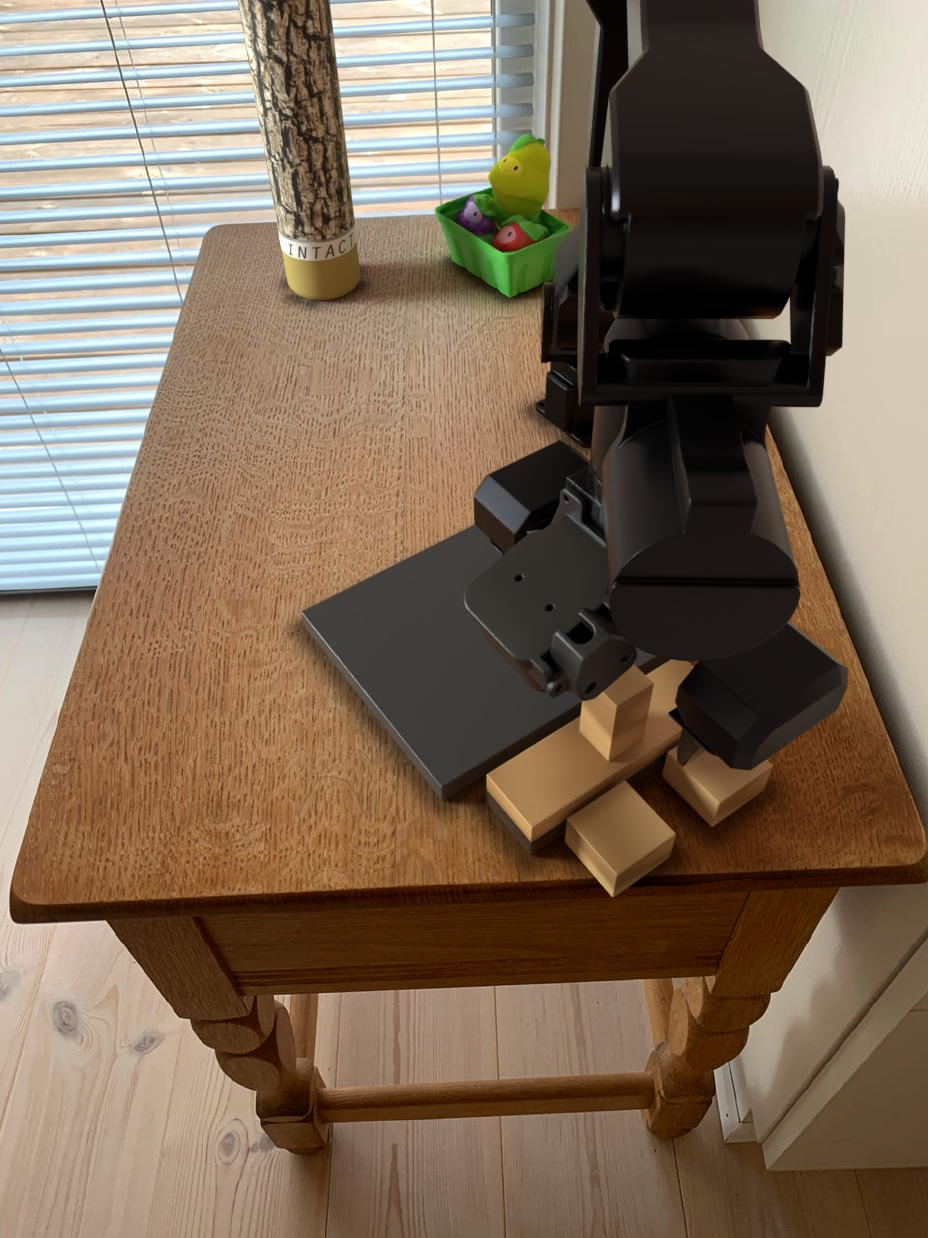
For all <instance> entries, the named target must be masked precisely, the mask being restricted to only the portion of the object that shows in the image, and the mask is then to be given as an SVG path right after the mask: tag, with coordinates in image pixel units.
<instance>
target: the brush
mask: <svg viewBox="0 0 928 1238" xmlns="http://www.w3.org/2000/svg"><path fill="white" fill-rule="evenodd" d="M694 666H695V665H693V664H692V663H691V662H690V661H679V660H673V659H671V660H670V661H668V662H666V663H665V664H663V665H662V666H660V667H658V668H657V669H655V670H654V671H652V672H650V673H649V674H647V675H645V674H644V673H643V672H641V671H640V670H639V669H638V668H637V667H636V666H635V665H634V664H633V665H632V667H631V668H630V669H629V670H627V671H626V672H625V673H624V674H623V675H622V676H621V677H619V678H618V679H617V680H616V681H615V682H614V683H612V684H611V685H610V686H609V687H608V688H607V689H606V690H604V691H603V692H602V693H601V694H600V695H599V696H597V697H596V698H595V699H592V700H588V701H582V708H581V716H580V717H578V718H577V719H575V720H573V721H572V722H570V723H569V724H567V725H565V726H564V727H562V728H561V729H559V730H557V731H556V732H554V733H552V734H551V735H549V736H548V737H546V738H544V739H543V740H541V741H540V742H538V743H536V744H535V745H533V746H531V747H530V748H528V749H527V750H525V751H523V752H522V753H520V754H519V755H517V756H515V757H514V758H512V759H510V760H509V761H507V762H506V763H504V764H502V765H501V766H499V767H498V768H496V769H494V770H493V771H491V772H489V773H488V774H486V805H488V807H489V808H490V809H491V810H492V811H493V813H494V814H495V815H496V816H497V818H498V819H499V820H500V821H501V822H502V824H503V825H504V826H505V827H506V828H507V829H508V831H509V832H510V833H511V835H513V837H514V838H515V839H516V841H517V842H518V843H519V844H520V845H521V847H522V848H523V849H524V850H525V851H526V853H527V854H528V855H529V856H530V857H531V856H533V855H535V854H536V853H538V852H539V851H540V850H542V849H543V848H545V847H547V846H548V845H550V844H551V843H553V842H554V841H555V840H557V839H558V838H560V837H561V836H563V835H564V834H566V824H567V818H569V817H570V816H572V815H573V814H575V813H576V812H578V811H579V810H581V809H582V808H584V807H585V806H587V805H588V804H590V803H591V802H593V801H594V800H596V799H597V798H599V797H600V796H602V795H603V794H605V793H606V792H608V791H609V790H611V789H612V788H614V787H615V786H617V785H618V784H620V783H621V782H623V781H626V782H627V783H628V784H629V785H630V786H631V787H632V788H634V787H636V786H637V785H639V784H640V783H641V782H643V781H645V780H646V779H647V778H649V777H650V776H651V775H653V774H654V773H656V772H658V771H660V770H661V769H662V768H664V765H665V761H666V756H667V752H668V751H670V750H671V749H673V748H674V747H676V746H677V745H678V743H679V739H680V735H681V731H682V727H680V726H679V725H678V724H677V723H676V722H675V721H674V720H673V719H672V718H671V717H670V716H669V715H668V713H669V712H670V711H671V710H673V709H675V708H676V707H677V705H676V703H675V699H676V695H677V690H678V686H679V685H680V684H681V682H682V681H683V680H684V679H685V678H686V676H687V675H688V674H689V673H690V671H691V670H692V669H693V668H694Z"/></svg>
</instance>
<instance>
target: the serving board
mask: <svg viewBox="0 0 928 1238" xmlns="http://www.w3.org/2000/svg"><path fill="white" fill-rule="evenodd" d="M501 556H502V555H501V554H500V553H499V552H498V551H497V550H496V549H495V548H494V547H493V546H492V545H491V543H490V538H489V537H487V536H486V535H485V534H484V533H483V532H482V531H481V530H480V529H479V528H478V527H477V526H476V525H475V524H472V525H470V526H468V527H466V528H464V529H462V530H460V531H459V532H457V533H454V534H453V535H450V536H449V537H446V538H445V539H443V540H441V541H438V542H436V543H434V544H432V545H431V546H429V547H426V548H425V549H423V550H420V551H419V552H417V553H414V554H413V555H411V556H409V557H407V558H405V559H403V560H400V561H399V562H396V563H394V564H393V565H391V566H389V567H387V568H384V569H383V570H381V571H378V572H377V573H375V574H373V575H371V576H369V577H366V578H365V579H363V580H361V581H359V582H357V583H355V584H353V585H351V586H349V587H347V588H345V589H343V590H341V591H339V592H337V593H335V594H333V595H331V596H329V597H327V598H326V599H323V600H321V601H319V602H317V603H315V604H313V605H312V606H309V607H308V608H307V607H306V608H305V609H303V610H301V612H300V613H301V614H300V615H301V618H302V622H303V627H304V628H305V630H306V631H307V632H308V633H309V634H310V636H311V637H312V639H313V640H314V641H315V642H316V643H317V645H318V646H319V647H320V648H321V649H322V651H323V652H324V654H325V655H326V656H327V657H328V659H329V660H330V661H331V662H332V664H333V665H334V666H335V668H336V669H337V670H338V672H339V673H340V674H341V675H342V677H344V679H345V680H346V681H347V683H348V684H349V686H351V688H352V689H353V690H354V691H355V693H356V694H357V696H359V698H360V699H361V700H362V702H363V703H364V704H365V705H366V707H367V708H368V709H369V710H370V712H371V713H372V715H374V717H375V718H376V719H377V720H378V721H379V723H380V725H382V727H383V728H384V729H385V731H386V732H387V733H388V734H389V736H390V737H391V739H393V741H394V742H395V744H396V745H397V746H398V747H399V748H400V750H401V751H402V753H404V755H405V757H407V759H408V760H409V762H411V763H412V765H413V766H414V767H415V769H416V770H417V771H418V772H419V774H420V775H421V776H422V777H423V779H424V780H425V781H426V783H427V784H428V786H430V787H431V789H432V790H433V791H434V792H435V794H436V795H437V796H438V798H439V799H440V800H441V801H442V802H444V801H446V800H447V799H449V798H451V797H453V796H454V795H456V794H457V793H459V792H461V791H462V790H464V789H465V788H467V787H468V786H470V785H472V784H473V783H475V782H477V781H478V780H480V779H481V778H483V777H485V776H487V774H488V773H490V772H492V771H493V770H495V769H496V768H498V767H500V766H501V765H503V764H504V763H506V762H508V761H509V760H511V759H512V758H514V757H516V756H517V755H519V754H520V753H522V752H524V751H525V750H527V749H528V748H530V747H532V746H533V745H535V744H536V743H538V742H540V741H541V740H543V739H544V738H546V737H548V736H549V735H551V734H552V733H554V732H556V731H557V730H559V729H561V728H562V727H564V726H565V725H567V724H569V723H570V722H572V721H573V720H575V719H577V718H578V717H580V716H581V708H582V700H581V699H580V698H579V697H578V696H577V695H576V694H575V693H574V692H572V691H565V692H564V693H562V694H561V695H560V696H558V697H555V698H551V697H550V696H549V695H548V694H547V692H539V691H536V690H534V689H532V688H531V687H530V686H529V685H528V684H527V683H526V682H525V681H524V680H523V679H522V678H521V676H520V675H519V674H518V673H517V672H516V671H515V670H514V669H513V668H512V667H511V666H510V665H509V664H508V662H507V661H506V660H505V659H504V658H503V657H502V656H501V655H500V654H499V653H498V652H497V651H496V650H495V649H494V648H493V647H492V646H491V645H490V644H489V643H488V641H487V640H486V638H485V637H484V635H483V634H482V632H481V630H480V629H479V627H478V626H477V624H476V623H475V621H474V619H473V618H472V616H471V615H470V613H469V612H468V610H467V608H466V606H465V604H464V594H465V591H466V589H467V587H468V585H469V584H470V583H471V582H472V581H473V580H474V579H475V578H477V577H478V576H479V575H480V574H481V573H482V572H484V571H485V570H486V569H487V568H488V567H490V566H491V565H492V564H493V563H494V562H496V561H497V560H498V559H499V558H500V557H501ZM636 650H637V658H636V660H635V662H634V665H635V666H636V667H637V668H638V669H639V670H640V671H641V672H643V673H644V674H645V675H647V674H649V673H650V672H652V671H654V670H655V669H657V668H658V667H660V666H662V665H663V664H665V663H666V662H668V661H670V660H671V659H667V658H661V657H658V656H655V655H652V654H649V653H647V652H644V651H642V650H640V649H639V648H637V647H636Z"/></svg>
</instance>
